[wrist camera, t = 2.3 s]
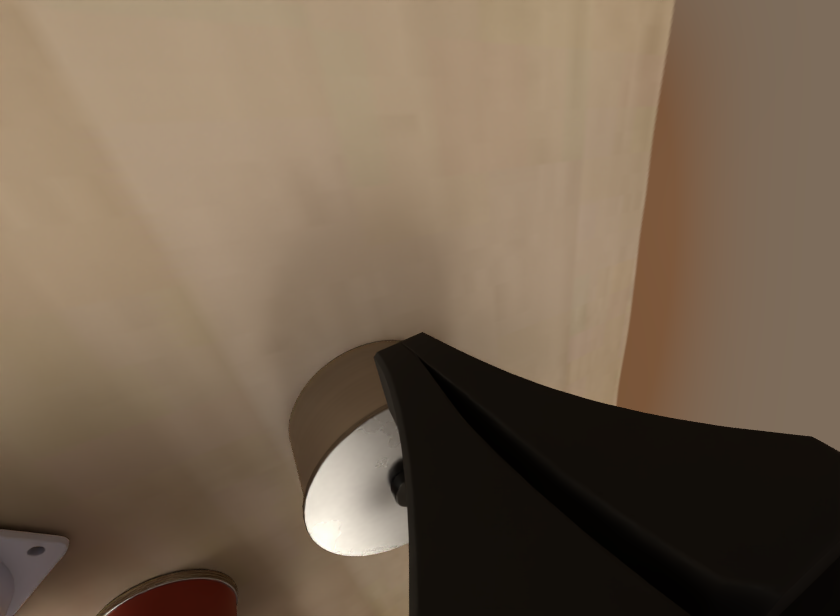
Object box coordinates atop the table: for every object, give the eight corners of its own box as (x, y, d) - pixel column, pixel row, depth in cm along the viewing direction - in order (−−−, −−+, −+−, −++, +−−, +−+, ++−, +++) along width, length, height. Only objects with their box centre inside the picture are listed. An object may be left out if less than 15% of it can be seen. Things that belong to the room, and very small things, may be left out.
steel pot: (242, 452, 19) (254, 557, 14) (369, 303, 18) (420, 366, 14) (377, 492, 24) (414, 576, 20) (476, 380, 24) (535, 441, 20)
